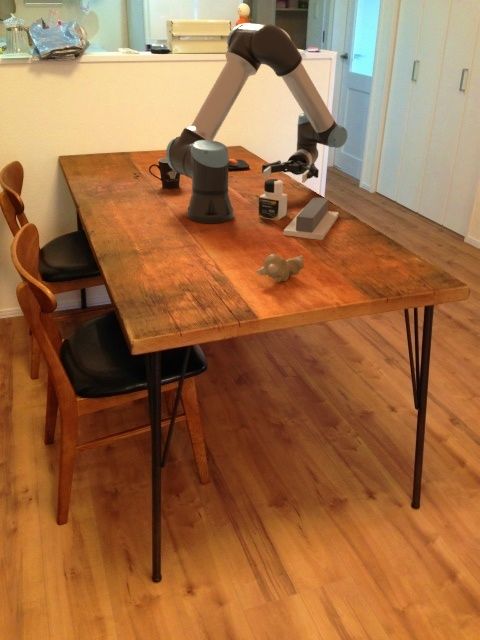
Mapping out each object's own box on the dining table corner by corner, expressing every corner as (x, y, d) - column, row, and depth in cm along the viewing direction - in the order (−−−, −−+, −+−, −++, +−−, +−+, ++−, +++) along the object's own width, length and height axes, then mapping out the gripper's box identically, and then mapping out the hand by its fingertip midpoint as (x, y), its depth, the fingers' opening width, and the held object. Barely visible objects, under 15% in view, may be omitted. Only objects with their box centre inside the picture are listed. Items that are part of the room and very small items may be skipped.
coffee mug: (184, 183, 230) (183, 157, 226) (179, 190, 223) (178, 163, 218) (154, 182, 231) (153, 156, 227) (149, 188, 224) (147, 161, 219)
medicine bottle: (258, 217, 195) (259, 181, 190) (267, 211, 201) (268, 176, 195) (277, 221, 192) (279, 184, 187) (286, 215, 198) (288, 179, 192)
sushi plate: (184, 174, 245) (183, 165, 243) (171, 158, 271) (171, 150, 269) (251, 171, 252) (251, 162, 250) (233, 155, 278) (233, 147, 276)
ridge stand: (322, 240, 177) (323, 220, 174) (283, 234, 181) (284, 215, 178) (338, 216, 197) (339, 199, 194) (303, 212, 201) (304, 195, 198)
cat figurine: (308, 255, 150) (275, 252, 142) (307, 283, 151) (274, 282, 143) (284, 255, 156) (251, 253, 148) (283, 282, 157) (250, 281, 149)
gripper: (332, 175, 216) (319, 191, 198) (266, 169, 223) (248, 184, 205) (334, 154, 212) (320, 168, 194) (267, 149, 219) (248, 162, 202)
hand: (283, 176), depth 200 cm, fingers open, 13 cm apart
